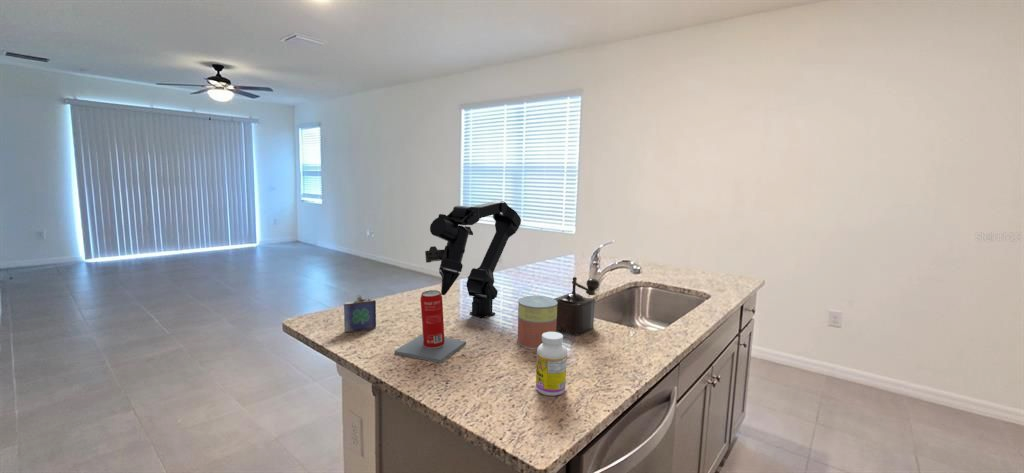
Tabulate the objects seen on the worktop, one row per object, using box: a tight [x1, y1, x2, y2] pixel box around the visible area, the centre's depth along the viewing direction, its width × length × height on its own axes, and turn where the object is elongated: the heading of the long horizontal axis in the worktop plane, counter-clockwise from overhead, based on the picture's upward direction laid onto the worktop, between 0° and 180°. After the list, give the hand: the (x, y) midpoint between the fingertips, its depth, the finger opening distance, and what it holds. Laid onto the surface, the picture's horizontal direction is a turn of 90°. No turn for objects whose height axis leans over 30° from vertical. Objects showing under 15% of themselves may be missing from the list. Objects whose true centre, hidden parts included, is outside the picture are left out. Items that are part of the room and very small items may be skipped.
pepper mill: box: [554, 276, 600, 336], centre depth 138 cm, size 16×11×18 cm
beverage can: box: [420, 289, 445, 349], centre depth 121 cm, size 6×6×15 cm
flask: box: [343, 294, 377, 334], centre depth 134 cm, size 9×3×11 cm, turn 121°
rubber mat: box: [394, 333, 467, 364], centre depth 122 cm, size 14×14×1 cm
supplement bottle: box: [535, 331, 568, 397], centre depth 99 cm, size 7×7×13 cm
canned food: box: [516, 295, 558, 350], centre depth 128 cm, size 11×11×12 cm
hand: (443, 294), depth 134 cm, fingers open, 9 cm apart
